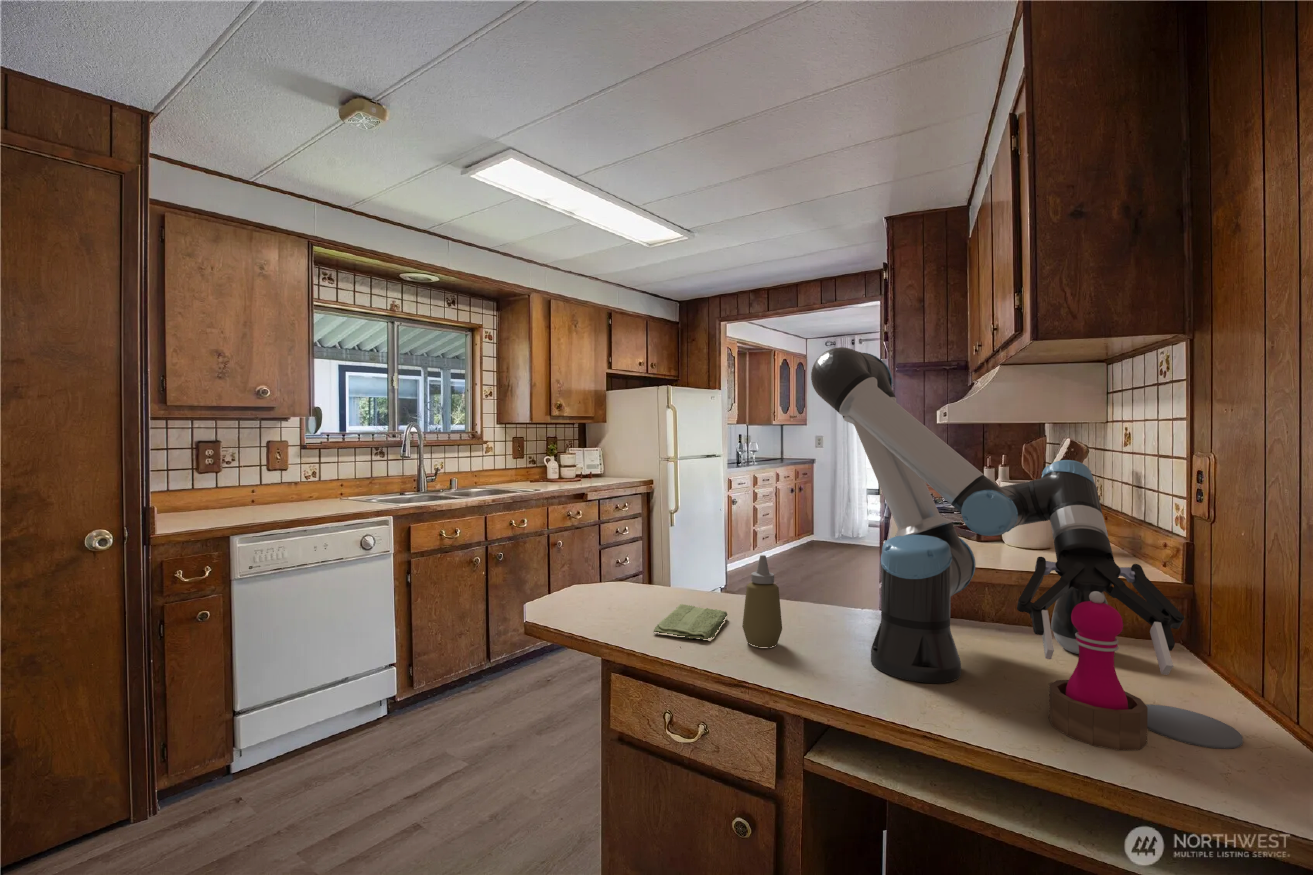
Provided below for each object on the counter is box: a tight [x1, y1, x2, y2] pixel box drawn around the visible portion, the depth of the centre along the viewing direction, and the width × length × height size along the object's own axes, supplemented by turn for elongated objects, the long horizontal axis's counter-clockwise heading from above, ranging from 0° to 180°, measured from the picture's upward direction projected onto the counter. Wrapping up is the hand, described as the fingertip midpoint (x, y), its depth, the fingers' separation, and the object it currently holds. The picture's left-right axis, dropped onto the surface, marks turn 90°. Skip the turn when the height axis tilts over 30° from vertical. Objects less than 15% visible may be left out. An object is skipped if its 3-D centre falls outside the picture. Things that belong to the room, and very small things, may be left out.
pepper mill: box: [1066, 591, 1128, 710], centre depth 84 cm, size 7×7×20 cm
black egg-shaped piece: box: [1050, 587, 1109, 655], centre depth 116 cm, size 10×10×15 cm
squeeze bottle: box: [742, 554, 783, 647], centre depth 118 cm, size 8×8×18 cm
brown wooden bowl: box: [1048, 679, 1148, 751], centre depth 84 cm, size 11×11×5 cm
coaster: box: [1145, 704, 1244, 750], centre depth 85 cm, size 12×12×1 cm
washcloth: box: [653, 603, 728, 639], centre depth 129 cm, size 13×18×3 cm
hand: (1106, 662), depth 83 cm, fingers open, 13 cm apart
